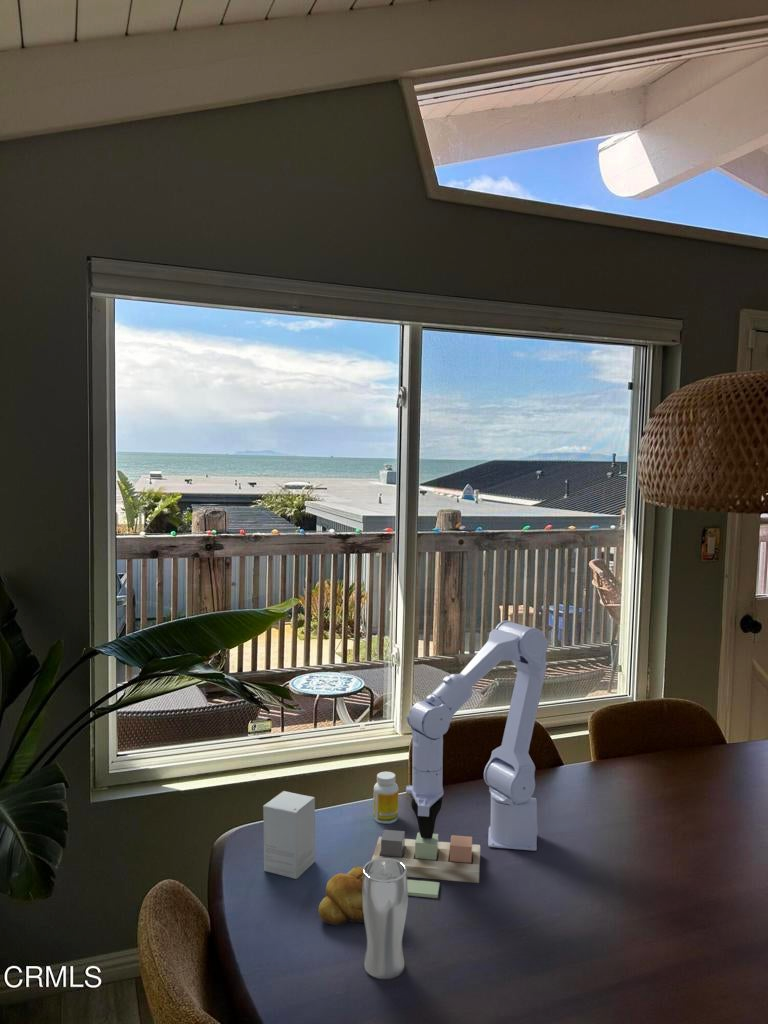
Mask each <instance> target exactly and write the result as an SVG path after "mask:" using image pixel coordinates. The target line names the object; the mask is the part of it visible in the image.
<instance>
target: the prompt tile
mask: <svg viewBox="0 0 768 1024" xmlns="http://www.w3.org/2000/svg"><path fill="white" fill-rule="evenodd" d="M407 885H408V897H409V896H411V897H418V898H419V897H421V898H431V899H439V892H440V891H439V890H440V882H437V881H430V880H416V879H408V878H407Z"/></svg>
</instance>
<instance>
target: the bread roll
mask: <svg viewBox="0 0 768 1024" xmlns="http://www.w3.org/2000/svg"><path fill="white" fill-rule="evenodd" d="M363 867H364V866H358V865H356V866H354V867H353V868H351V870H349V871H348V872H347V873H343V872H340V873H337V874H334V875H333V876H332V877H331V878H330V879H329V880H328V881H327V882H326V887H325V897H323V899H321V901H320V903H319V905H318V910H317V911H318V915H319V918H320V919H321V921H323V922H324V923H325V924H329V925H334V926H335V925H336V926H340V925H344V924H348V923H349V922H353V923H364V918H363V912H362V879H363Z"/></svg>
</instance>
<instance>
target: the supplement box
mask: <svg viewBox="0 0 768 1024" xmlns="http://www.w3.org/2000/svg"><path fill="white" fill-rule="evenodd" d="M315 801H316V797H314V796H311V795H304V794H300V793H296V792H295V793H294V792H290V791H286V790H283V791H281V792H280V793H279V794H277V795H276V796H274V797H273V798H272V799H270V801H268V802H266V803H265V804H264V805H262V809H263V810H262V811H263V812H262V814H263V818H262V819H263V864H264V865H263V871H264V872H267V873H271V874H276V875H279V876H282V877H286V878H287V877H288V878H290V879H295V880H297V879H298V878H300V877H301V876H302V875H303V873H305V871H307V870H308V869H309V868H310V867H312V865H313V864H314V863H315V862H316V804H315V803H316V802H315Z"/></svg>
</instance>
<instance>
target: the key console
mask: <svg viewBox="0 0 768 1024" xmlns="http://www.w3.org/2000/svg"><path fill="white" fill-rule="evenodd" d="M381 839H382V836H378V839H377V843H376V845H375V848H374V851H373V855H372V857H371V860H374V859H378V858H391V859H396V860H398V861H400V862H402V863H403V864H404V865H405V866H406V869H407V878H418V879H420V878H421V879H430V880H441V881H453V882H462V883H464V882H465V883H473V884H479V883H480V867H481V866H480V865H481V845H480V844H475V843H474V844H473V843H472V860H471V863H465V862H454V861H450V842H449V841H438V853H437V859H436V860H430V859H419V858H415V842H416V839H412V838H405V847H404V851H403V855H402V857H396V856H384V855H381Z"/></svg>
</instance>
